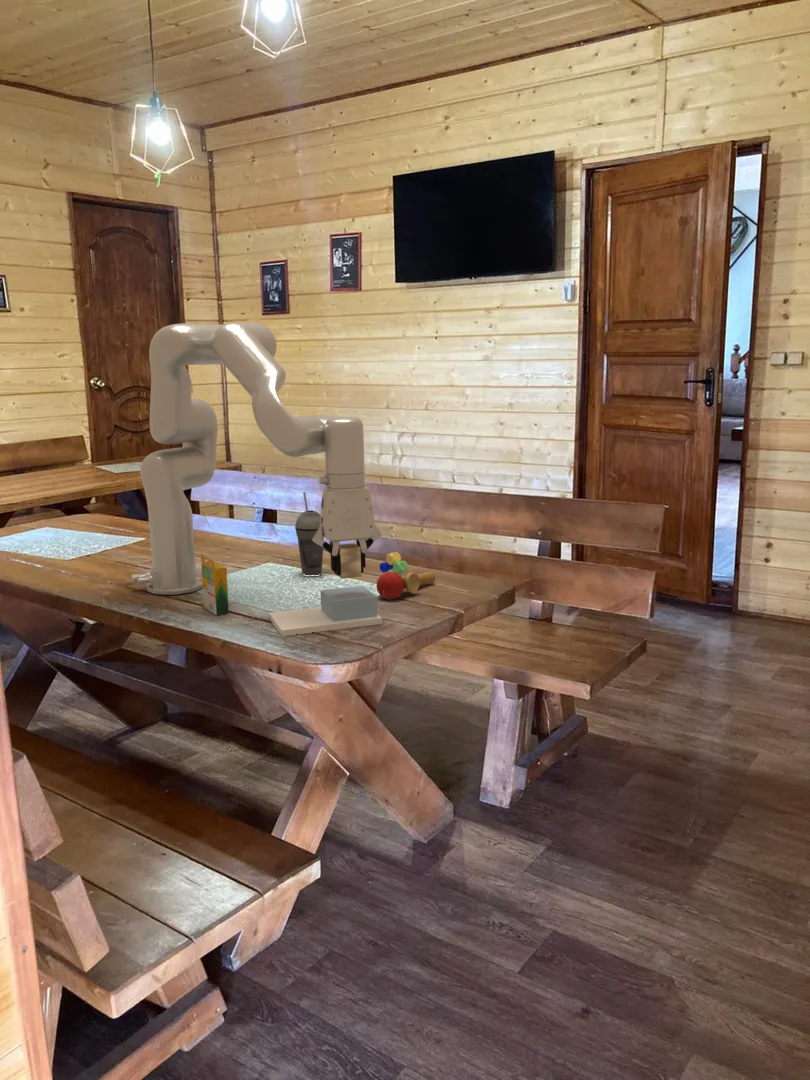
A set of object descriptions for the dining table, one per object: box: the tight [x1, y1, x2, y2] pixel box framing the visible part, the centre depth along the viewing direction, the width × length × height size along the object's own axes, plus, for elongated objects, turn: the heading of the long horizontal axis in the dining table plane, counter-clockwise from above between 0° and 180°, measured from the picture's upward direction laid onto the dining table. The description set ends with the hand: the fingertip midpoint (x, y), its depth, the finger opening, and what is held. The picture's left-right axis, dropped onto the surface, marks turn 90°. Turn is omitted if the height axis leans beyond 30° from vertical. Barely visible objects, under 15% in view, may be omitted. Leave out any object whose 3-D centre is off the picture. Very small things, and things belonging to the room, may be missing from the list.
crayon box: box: [200, 553, 230, 616], centre depth 181 cm, size 7×3×12 cm, turn 33°
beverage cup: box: [294, 491, 325, 575], centre depth 208 cm, size 7×7×20 cm
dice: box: [379, 551, 409, 576], centre depth 205 cm, size 8×3×6 cm, turn 41°
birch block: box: [338, 542, 362, 580], centre depth 173 cm, size 4×4×6 cm
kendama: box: [376, 571, 436, 601], centre depth 194 cm, size 8×6×18 cm
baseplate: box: [268, 585, 383, 637], centre depth 173 cm, size 20×12×5 cm, turn 111°
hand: (348, 571), depth 174 cm, fingers closed on birch block, 4 cm apart
